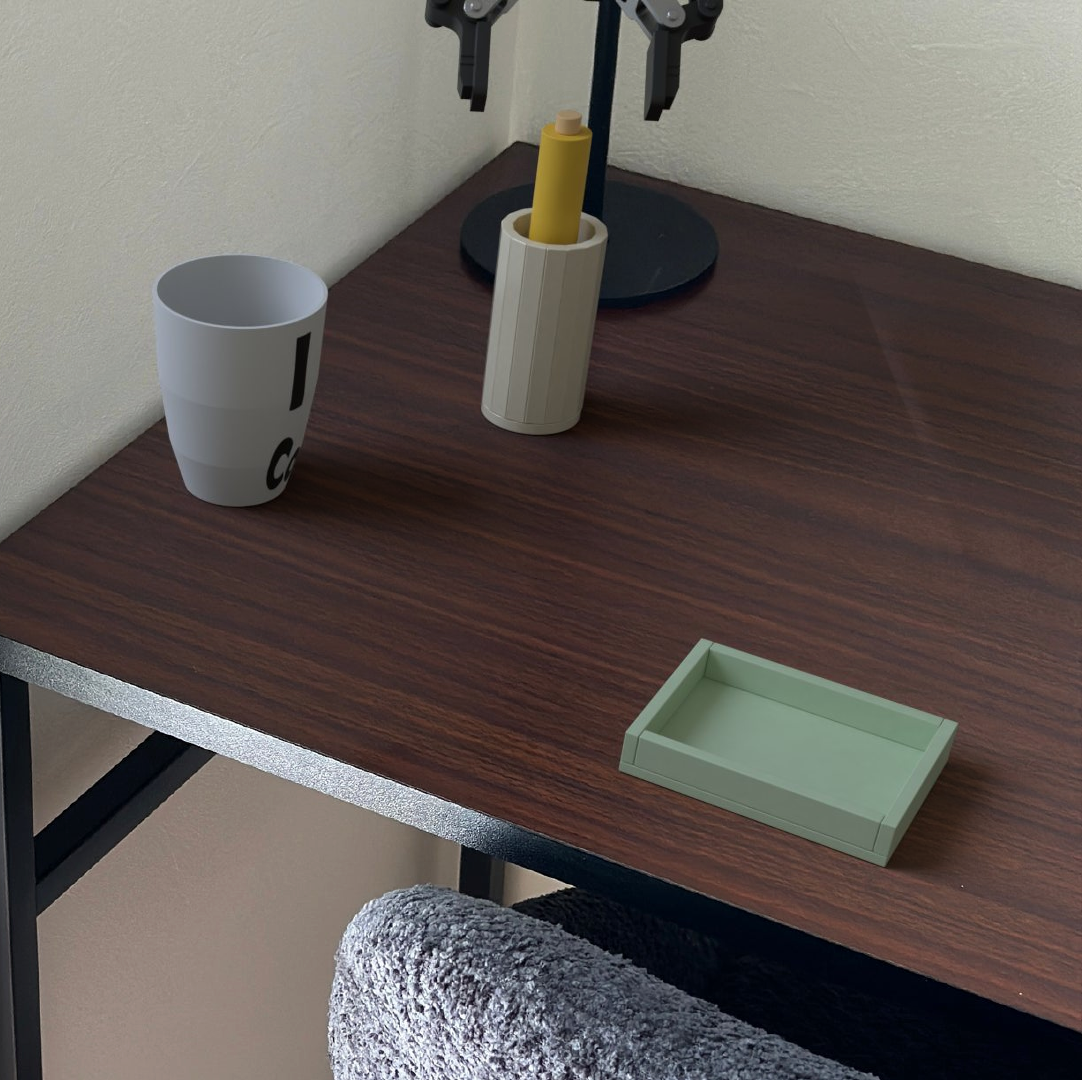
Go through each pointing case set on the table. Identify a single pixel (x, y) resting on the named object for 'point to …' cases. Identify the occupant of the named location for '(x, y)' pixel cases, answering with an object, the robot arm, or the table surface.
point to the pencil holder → (541, 327)
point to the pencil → (560, 180)
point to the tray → (789, 750)
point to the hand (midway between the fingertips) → (566, 109)
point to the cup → (238, 370)
